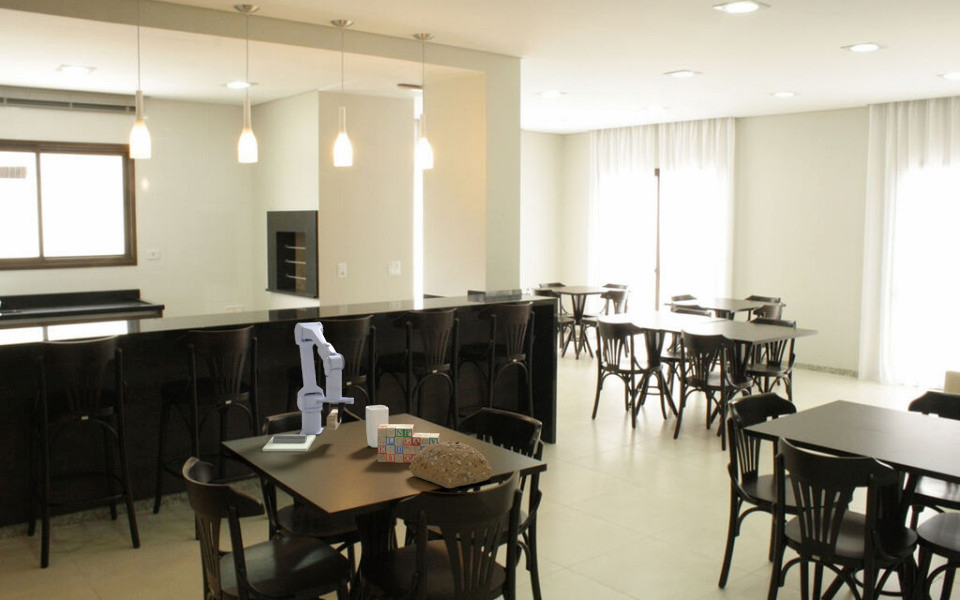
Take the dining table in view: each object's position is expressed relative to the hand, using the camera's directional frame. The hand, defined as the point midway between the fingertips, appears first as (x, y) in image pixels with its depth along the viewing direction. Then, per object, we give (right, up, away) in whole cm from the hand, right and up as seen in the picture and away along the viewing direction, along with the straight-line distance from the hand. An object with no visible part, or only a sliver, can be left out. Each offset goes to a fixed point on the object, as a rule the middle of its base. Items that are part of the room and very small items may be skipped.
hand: (334, 422), depth 305 cm
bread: (+46, -13, -40) cm, 62 cm away
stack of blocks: (+30, -11, -19) cm, 37 cm away
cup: (+16, -9, -2) cm, 19 cm away
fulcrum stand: (-17, -8, 0) cm, 19 cm away
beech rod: (0, -1, 0) cm, 2 cm away
